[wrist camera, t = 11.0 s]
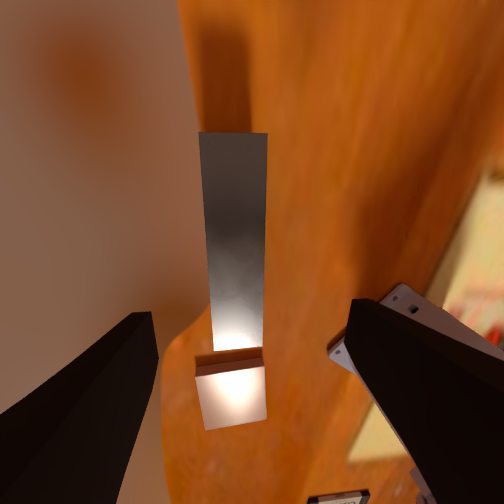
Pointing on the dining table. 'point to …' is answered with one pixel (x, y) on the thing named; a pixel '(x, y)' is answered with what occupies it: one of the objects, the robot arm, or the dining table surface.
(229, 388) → the tile
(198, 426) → the dining table surface
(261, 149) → the tall grey plank
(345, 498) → the chocolate bar
